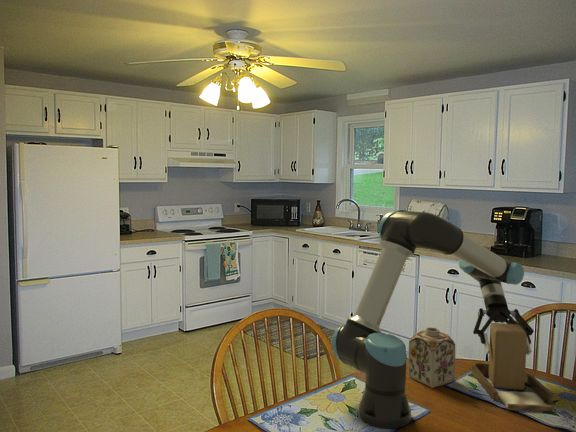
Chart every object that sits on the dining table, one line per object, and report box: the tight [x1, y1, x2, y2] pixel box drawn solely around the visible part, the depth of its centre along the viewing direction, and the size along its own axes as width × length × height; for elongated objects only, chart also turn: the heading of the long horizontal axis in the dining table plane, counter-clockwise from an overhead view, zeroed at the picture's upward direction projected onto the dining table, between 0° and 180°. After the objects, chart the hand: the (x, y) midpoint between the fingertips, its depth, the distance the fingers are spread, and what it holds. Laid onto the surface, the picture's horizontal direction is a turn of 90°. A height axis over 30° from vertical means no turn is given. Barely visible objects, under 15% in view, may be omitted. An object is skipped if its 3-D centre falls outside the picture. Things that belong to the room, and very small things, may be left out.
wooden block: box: [487, 322, 527, 391], centre depth 165 cm, size 10×10×20 cm
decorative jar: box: [407, 326, 456, 389], centre depth 169 cm, size 12×12×18 cm
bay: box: [471, 362, 554, 413], centre depth 160 cm, size 18×28×4 cm, turn 176°
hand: (508, 352), depth 165 cm, fingers open, 13 cm apart
